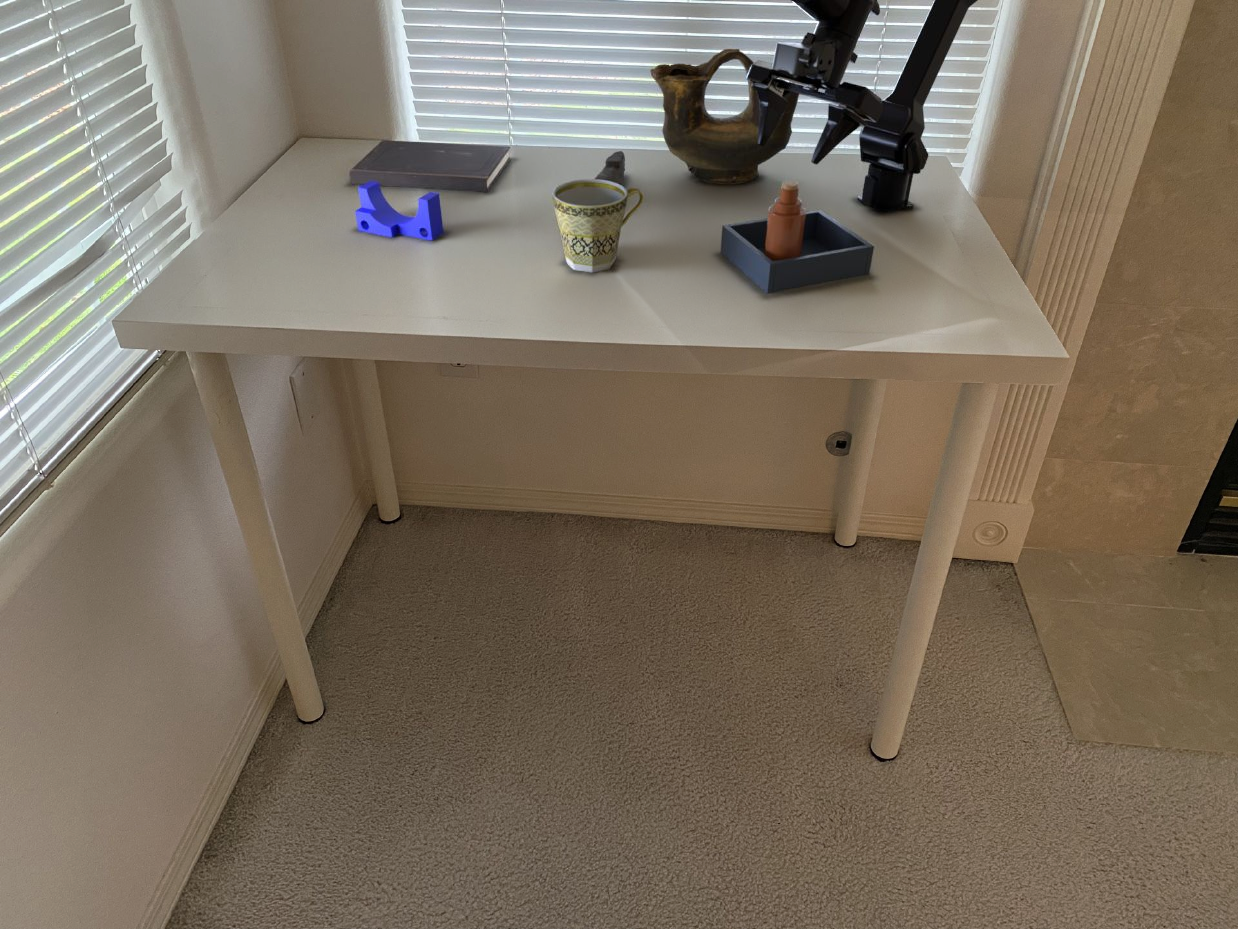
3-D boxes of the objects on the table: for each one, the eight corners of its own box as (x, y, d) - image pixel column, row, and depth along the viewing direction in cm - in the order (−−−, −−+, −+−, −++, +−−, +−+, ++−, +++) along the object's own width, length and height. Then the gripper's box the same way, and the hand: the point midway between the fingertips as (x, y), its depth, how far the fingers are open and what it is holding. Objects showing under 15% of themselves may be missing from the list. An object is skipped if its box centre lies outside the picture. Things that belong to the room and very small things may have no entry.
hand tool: (599, 218, 142) (599, 189, 140) (574, 215, 143) (574, 185, 141) (638, 177, 157) (638, 149, 154) (615, 174, 158) (616, 146, 155)
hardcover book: (384, 153, 166) (382, 139, 164) (510, 159, 163) (509, 146, 162) (350, 185, 153) (348, 171, 152) (487, 193, 151) (486, 179, 149)
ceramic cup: (573, 283, 124) (571, 211, 118) (543, 255, 132) (540, 186, 126) (658, 264, 129) (661, 194, 123) (625, 238, 136) (625, 170, 130)
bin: (816, 239, 136) (820, 209, 134) (868, 277, 126) (874, 246, 124) (720, 255, 132) (722, 225, 129) (766, 296, 122) (770, 264, 119)
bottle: (786, 264, 128) (797, 174, 121) (804, 278, 125) (816, 187, 117) (755, 270, 127) (764, 179, 119) (773, 284, 123) (783, 192, 116)
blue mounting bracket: (358, 230, 139) (351, 190, 135) (376, 219, 142) (370, 180, 138) (426, 244, 135) (421, 204, 131) (443, 233, 138) (439, 193, 134)
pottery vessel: (653, 189, 152) (656, 60, 140) (644, 166, 161) (647, 42, 149) (803, 183, 154) (819, 56, 142) (787, 161, 163) (800, 39, 151)
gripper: (748, -1, 120) (701, 119, 124) (868, 23, 109) (812, 154, 113) (791, 33, 129) (746, 144, 133) (907, 58, 118) (854, 179, 122)
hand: (786, 154), depth 125 cm, fingers open, 9 cm apart
